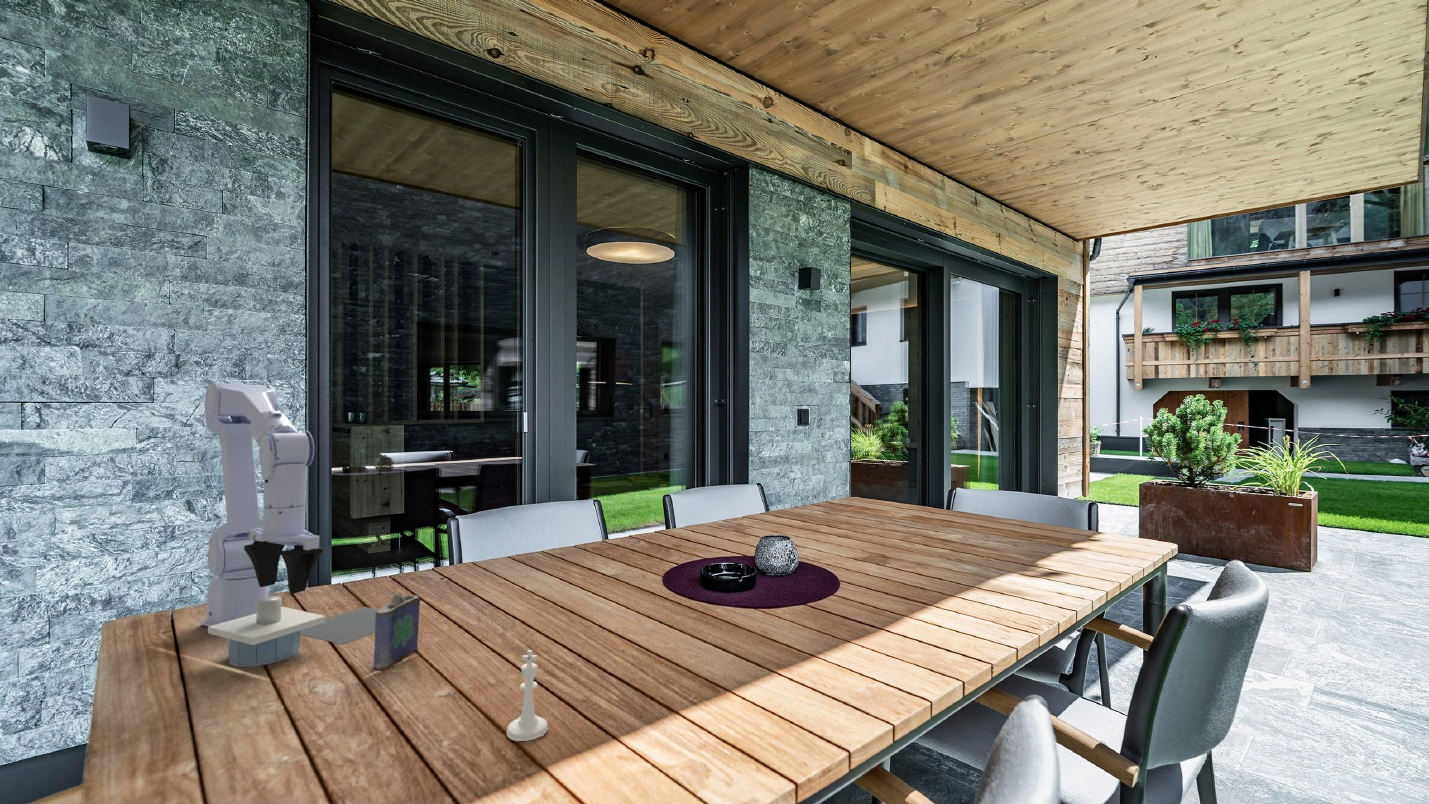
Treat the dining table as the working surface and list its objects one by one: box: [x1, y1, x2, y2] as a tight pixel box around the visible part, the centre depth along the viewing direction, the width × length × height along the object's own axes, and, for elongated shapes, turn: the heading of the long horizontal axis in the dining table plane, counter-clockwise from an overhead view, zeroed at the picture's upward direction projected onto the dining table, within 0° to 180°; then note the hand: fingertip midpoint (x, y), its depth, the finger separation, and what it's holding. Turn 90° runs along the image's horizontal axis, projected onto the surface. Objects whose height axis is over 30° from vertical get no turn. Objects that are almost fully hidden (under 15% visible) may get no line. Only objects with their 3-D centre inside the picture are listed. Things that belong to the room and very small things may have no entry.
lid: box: [207, 595, 327, 645], centre depth 98 cm, size 11×11×4 cm
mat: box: [300, 606, 380, 646], centre depth 112 cm, size 14×15×1 cm
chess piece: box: [506, 649, 549, 742], centre depth 77 cm, size 5×5×10 cm
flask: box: [373, 590, 421, 672], centre depth 98 cm, size 9×3×11 cm, turn 172°
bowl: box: [228, 630, 301, 668], centre depth 97 cm, size 9×9×4 cm
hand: (282, 588), depth 101 cm, fingers open, 7 cm apart
